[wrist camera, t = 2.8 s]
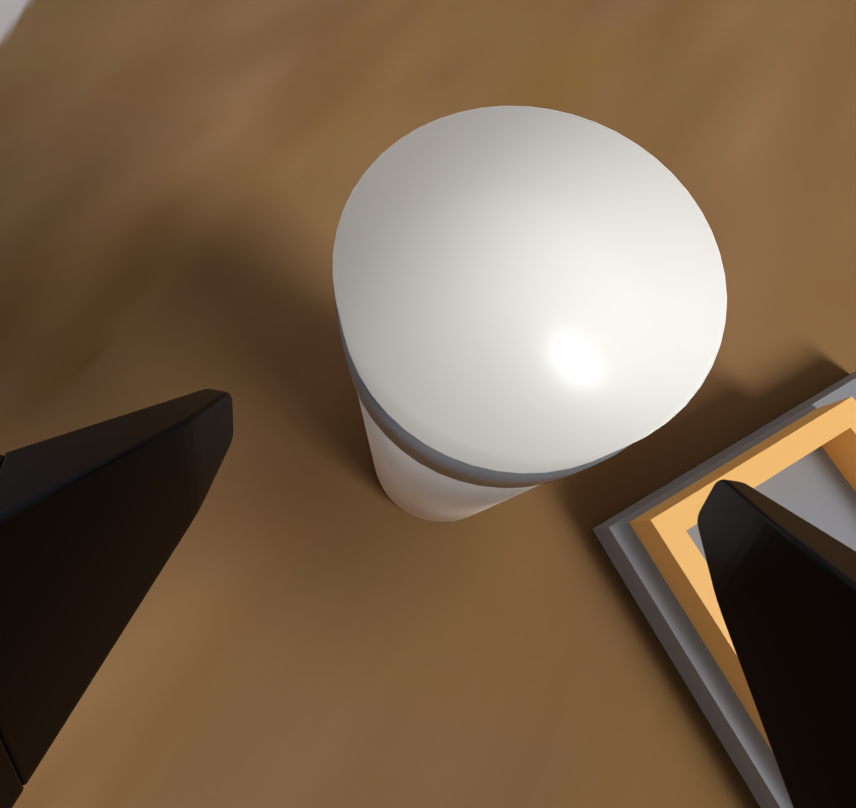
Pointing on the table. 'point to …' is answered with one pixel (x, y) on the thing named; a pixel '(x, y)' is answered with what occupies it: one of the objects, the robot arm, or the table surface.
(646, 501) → the board
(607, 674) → the table surface
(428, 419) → the white bottle
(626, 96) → the table surface
